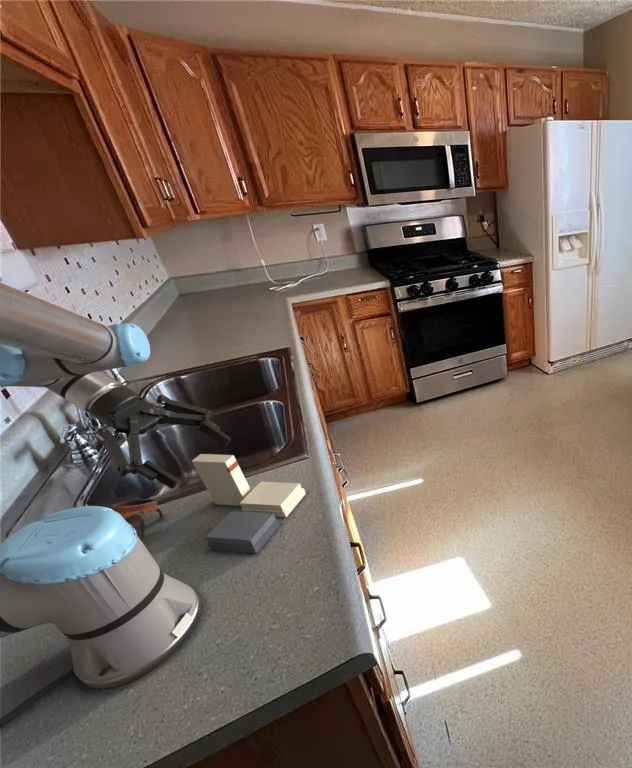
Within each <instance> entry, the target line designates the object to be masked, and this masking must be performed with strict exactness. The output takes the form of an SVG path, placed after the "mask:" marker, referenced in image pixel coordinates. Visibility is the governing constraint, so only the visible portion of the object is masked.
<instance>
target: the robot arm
mask: <svg viewBox="0 0 632 768" xmlns="http://www.w3.org/2000/svg"><path fill="white" fill-rule="evenodd" d="M150 356H151V345H150V342H149V339H148V337H147V335H146V333H145V332H144V330H143V329H142V328H141V327H139V326H138V325H137V324H135V323H131V322H126V323H125V322H124V323H114V324H110V325H105V324H102V323H100V322H98V321H95V320H93V319H91V318H88V317H85V316H83V315H81V314H78V313H76V312H73V311H71V310H68V309H66V308H63V307H62V306H59V305H56V304H54V303H51V302H48V301H47V300H44V299H41V298H39V297H37V296H34V295H32V294H29V293H27V292H25V291H22V290H20V289H17V288H15V287H12V286H10V285H7V284H5V283H2V282H0V388H6V387H21V388H23V387H24V388H25V387H26V388H30V387H31V388H46V389H48V390H50V391H51V392H53V393H54V394H56V395H58V397H61V398H62V399H64V400H66V401H68V402H69V403H70V404H72V405H74V406H75V407H77V408H79V410H82V411H83V412H85V413H89V415H90V416H91V417H92V418H93V419H95V420H97V421H99V422H100V423H102V424H104V426H108V427H98V429H97V431H96V434H95V440H96V441H97V442H99V443H101V444H102V445H103V447H104V448H105V451H106V453H107V455H108V456H109V458H110V460H111V463H112V464H113V466H114V468H115V471H116V472H117V475H118V476H119V477H126V476H127V475H129V474H131V475H137V474H138V475H140V476H141V477H143V478H145V479H147V480H148V481H152V482H153V481H154V480H156V481H158V482H160V483H161V484H162V485H164V486H166V487H167V488H169V489H171V490H173V489H174V488H176V486H177V485H178V483H179V481H180V479H179V478H178V477H176V476H175V475H173V474H171V472H170V473H169V472H168V471H166V470H165V469H163V468H162V467H160V466H159V465H158V464H155V463H154V462H152V461H150V460H149V459H148V460H146V461H144V463H143V458H142V449H141V442H140V441H141V440H140V435H141V436H143V435H145V434H146V433H147V432H148V431H149V430H152V429H154V428H155V427H157V425H165V424H167V425H179V426H194V427H198V431H199V432H201V433H203V434H204V435H206V436H207V437H209V438H211V439H212V440H213V441H215V442H216V443H218V444H219V445H221V446H222V447H224V448H226V447H227V446H228V445H229V444H230V442H231V441H232V437H230V436H229V435H227V434H226V433H224V432H223V431H221V427H220V426H219V425H217V424H216V423H215V422H213V421H211V420H210V419H209V417H210V415H211V414H212V410H210V409H207V408H204V407H200V406H198V405H197V406H196V405H193V404H189V403H186V402H182V401H178V400H174V399H171V398H169V397H167V396H166V395H164V394H159V395H157V397H156V399H155V400H153V401H152V402H149V401H146V400H145V399H144V398H143V397H142V396H141V395H139V394H138V393H136V392H135V391H134V390H132V389H130V388H129V387H127V386H125V385H124V384H123V383H122V382H121V381H118V380H117V379H116V378H114V377H112V376H111V375H109V374H108V373H106V372H105V371H110V370H115V369H121V368H129V366H133V365H138V364H142V363H145V362H147V361H148V360H149V358H150ZM123 385H124V386H123ZM116 434H125V437H126V443H127V448H128V457H129V461H128V459H127V458H126V456H125V454H124V452H123V450H122V448H121V446H120V444H119V442H118V440H117V438H116V437H115V435H116ZM142 541H143V540H142V539H139V537H138V536H137V533H136V531H135V529H134V528H133V527H132V526H131V525H130V524H129V523H127V522H126V520H125V519H124V518H123V517H122V516H121V515H120V514H119V513H118V512H115V511H114V510H112V509H110V507H106V506H100V505H85V506H78V507H71V508H67V509H64V510H60V511H57V512H53V513H51V514H47V515H45V516H44V517H43V518H42V519H41V520H39V521H32V522H30V523H28V524H26V525H24V526H22V527H21V528H19V529H18V530H16V531H15V532H13V533H11V534H10V535H8V537H7V538H5V540H4V541H2V543H0V639H2V638H5V637H7V636H10V635H14V634H17V633H20V632H23V631H27V630H29V629H30V630H31V629H33V628H36V627H38V626H42V625H45V624H53V625H54V626H55V627H56V629H58V630H59V631H60V632H61V633H62V634H63V635H64V636H65V637H66V638H67V642H68V647H69V651H70V656H71V662H72V668H71V669H69V670H68V671H67V672H65V673H63V674H62V675H61V676H59V677H58V678H56V679H55V680H53V681H52V682H50V683H49V684H47V685H46V686H45V687H43V688H41V689H40V690H39V691H37V692H35V693H34V694H33V695H31V696H30V697H28V698H27V699H25V700H24V701H23V702H21V703H20V704H19V705H18V706H17V707H15V708H14V709H12V710H10V711H9V712H8V713H7V714H5V715H4V716H2V717H1V718H0V728H1V727H3V726H4V725H6V724H8V723H10V721H12V720H13V719H15V718H16V717H18V716H19V715H20V714H21V713H23V712H24V711H26V710H27V709H28V708H30V707H31V706H33V704H35V703H36V702H38V701H40V699H42V698H43V697H45V696H46V695H48V694H50V693H51V692H52V691H53V690H55V689H57V688H59V686H61V685H62V684H64V683H65V682H67V681H68V680H69V679H71V678H73V676H76V677H77V678H78V680H80V681H81V682H82V683H83V684H84V685H85V686H87V687H89V688H92V689H98V690H101V689H103V690H104V689H111V688H115V687H118V686H122V685H126V684H128V683H130V682H133V681H135V680H136V679H138V678H140V677H142V676H145V675H146V674H148V673H149V672H151V671H152V670H154V669H155V668H156V667H158V666H159V665H161V664H163V662H165V661H166V660H167V659H168V658H169V657H171V656H172V655H173V654H174V653H175V652H177V650H179V648H180V647H181V646H182V645H183V644H184V643H185V642H186V640H188V638H189V637H190V635H191V634H192V632H193V631H194V630H195V628H196V626H197V625H198V622H199V620H200V617H201V614H202V609H203V606H202V605H203V604H202V600H201V598H200V596H199V594H198V593H197V592H196V590H195V589H194V588H193V587H192V586H191V585H189V584H186V583H185V582H182V581H181V580H178V579H176V578H174V577H171V575H168V574H166V573H165V572H164V571H163V570H162V569H161V567H160V565H158V563H157V561H156V560H155V558H154V557H153V556H152V554H151V553H150V551H149V550H148V549H147V547H146V545H145V544H144V543H143V542H142Z"/></svg>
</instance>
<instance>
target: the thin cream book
mask: <svg viewBox="0 0 632 768" xmlns="http://www.w3.org/2000/svg"><path fill="white" fill-rule="evenodd" d="M191 463H192V465H193V467H194V468H195V470H196V472H197V474H198V475H199V478H200V479H201V481H202V483H203V484H204V486H205V488H206V489H207V492H208V493H209V495H210V497H211V499H212V501H213V502H214V504H215V505H221V506H223V505H224V506H238V507H239V506H240V507H241V505H240V502H241V501H242V500H243V499H244V498H245V497H246V496H247V495H248V494H249V493H250V492H251V491H252V489H251V488H250V484H249V483H248V481H247V480H246V477H245V475H244V473H243V471H242V469H241V467H240V465H239V462H238V460H237V459H236V457H235V455H234V454H213V453H200V454H198V456H196V457H195V458H193V459H192V460H191Z"/></svg>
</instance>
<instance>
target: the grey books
mask: <svg viewBox="0 0 632 768" xmlns="http://www.w3.org/2000/svg"><path fill="white" fill-rule="evenodd" d="M280 526H281V524H280V522H279V519H278V518H277V517H275V516H274V514H268V513H252V512H242V511H237V510H236V511H235V510H234V511H232V510H231V511H230V512H229V513H228V514H227V515H226V516H225V517H224V518H223V519H222V520H221V521H220V522H219V523H218V524H217V525H216V526H215V527H214V528H213V529H212V530H211V531H210V532H209V533H208V534H207V535H206V536H205V538H206V539H207V541H208V543H207V546H208V547H209V549H210V550H211V551H220V552H221V551H222V552H234V553H245V554H257V553H258V552H259V551H260V550H261V549H262V548H263V546H264V545H265V544H266V543H267V541H268V540H269V539H270V538H271V537H272V536H273V535H274V533H275V532H276V531H277V530H278V528H279V527H280Z"/></svg>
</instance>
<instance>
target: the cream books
mask: <svg viewBox="0 0 632 768" xmlns="http://www.w3.org/2000/svg"><path fill="white" fill-rule="evenodd" d="M306 494H307V492H306V490H305V488H304V487H302V485H301V483H298V482H297V483H296V482H277V481H276V482H275V481H260V482H259V483H258V484H257V485H256V486H255V487H254V488H253V489H251V492H250V493H249V494H248V495H247V496H246V497H245V498H244V499H243V500H242V501H241V502H240V505H241V506H240V507H241V509H240V510H241V512H252V513H268V514H274V516H275V518H287V517H288V516H289V514H290V513H291V512H292V511H293V510H294V509H295V508H296V506H297V505H298V504H299V503H300V502H301V500H302V499H303V498H304V497H305V495H306Z"/></svg>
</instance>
